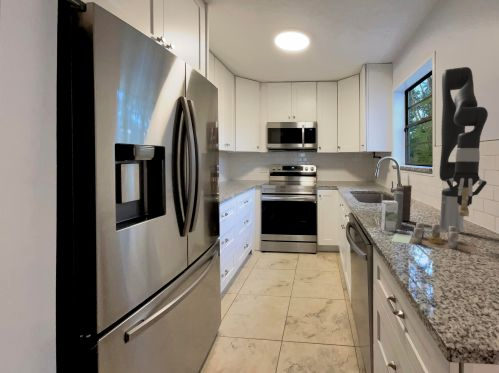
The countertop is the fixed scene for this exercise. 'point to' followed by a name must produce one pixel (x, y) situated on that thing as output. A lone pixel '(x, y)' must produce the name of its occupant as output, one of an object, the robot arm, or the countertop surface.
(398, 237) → the green pad
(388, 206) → the syrup box
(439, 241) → the gold star hexagon
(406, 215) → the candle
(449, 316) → the countertop surface
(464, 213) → the light wood t-shaped block
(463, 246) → the board
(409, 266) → the countertop surface
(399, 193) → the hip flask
